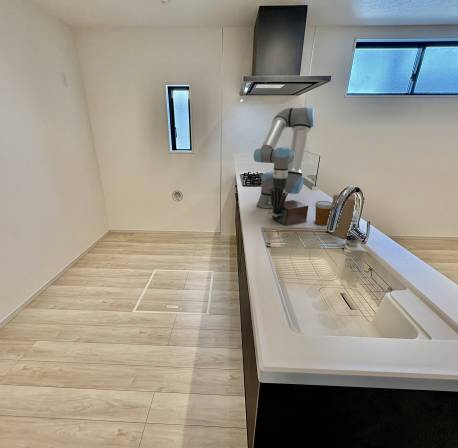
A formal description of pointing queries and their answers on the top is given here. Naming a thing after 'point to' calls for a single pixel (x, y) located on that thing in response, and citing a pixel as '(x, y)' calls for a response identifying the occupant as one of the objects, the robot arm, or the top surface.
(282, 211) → the drawer
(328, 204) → the amber jar
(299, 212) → the cabinet
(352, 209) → the wooden block
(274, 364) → the top surface
